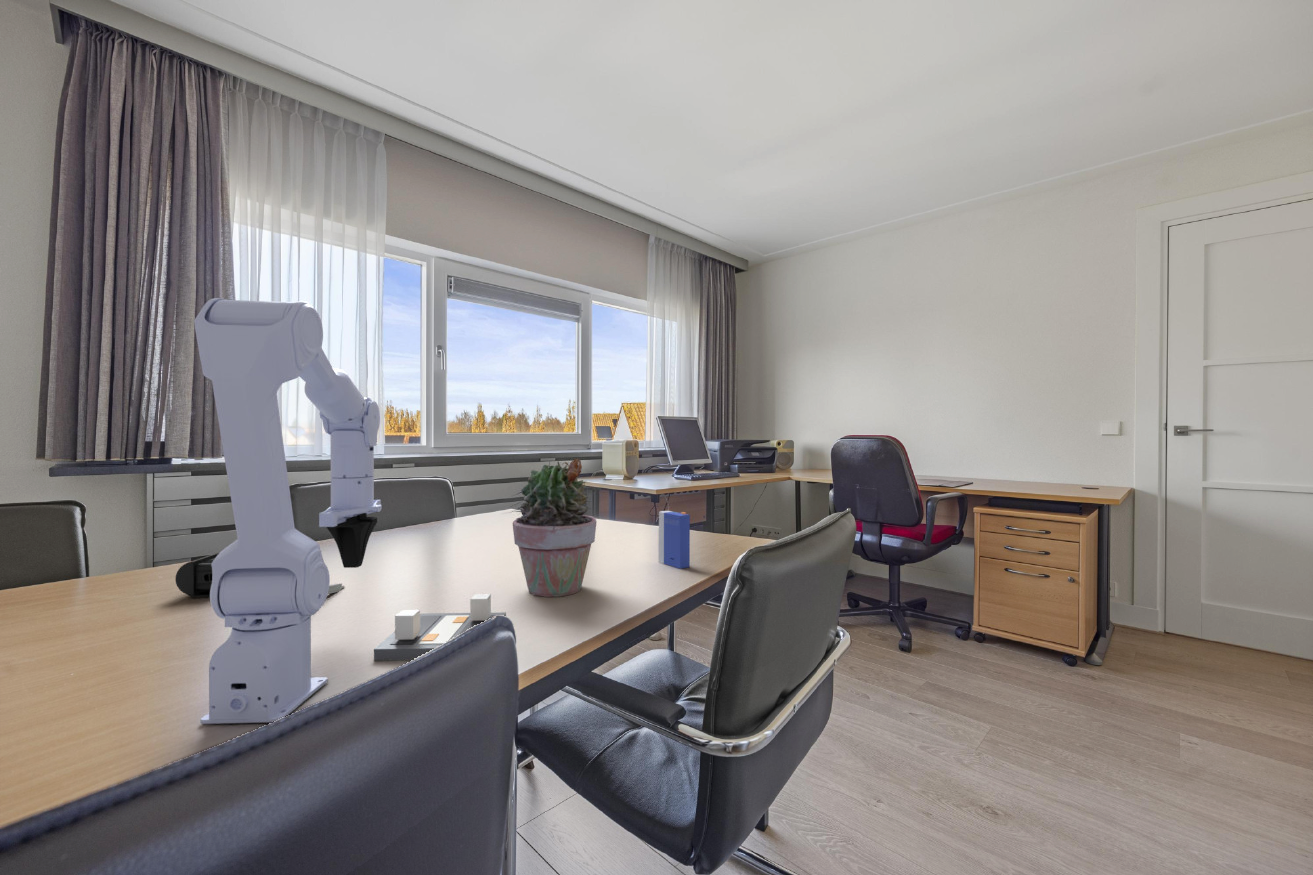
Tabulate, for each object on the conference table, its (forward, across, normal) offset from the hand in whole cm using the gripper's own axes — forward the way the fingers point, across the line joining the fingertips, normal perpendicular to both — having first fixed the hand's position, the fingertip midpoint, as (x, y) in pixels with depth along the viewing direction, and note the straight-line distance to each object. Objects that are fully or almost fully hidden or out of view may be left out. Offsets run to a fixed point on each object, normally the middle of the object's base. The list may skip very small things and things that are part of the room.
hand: (352, 566), depth 83 cm
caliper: (+10, +12, +12) cm, 20 cm away
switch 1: (+8, -9, -11) cm, 16 cm away
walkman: (+10, +38, -52) cm, 65 cm away
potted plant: (+10, +20, -27) cm, 35 cm away
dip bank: (+9, -5, -16) cm, 19 cm away
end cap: (+10, +21, +35) cm, 42 cm away
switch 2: (+7, -1, -19) cm, 21 cm away
